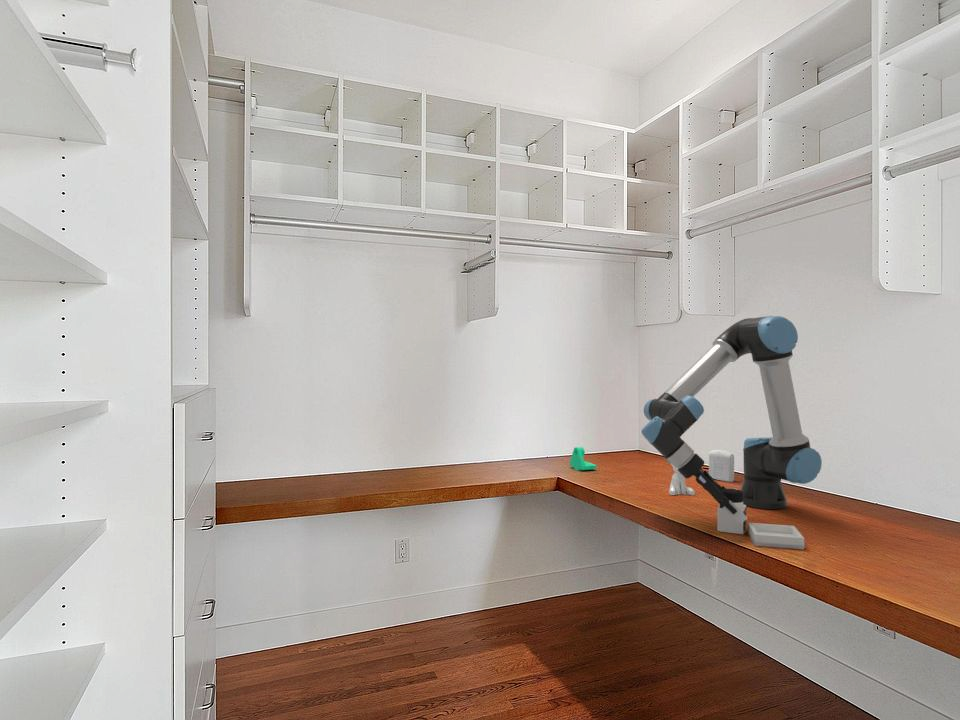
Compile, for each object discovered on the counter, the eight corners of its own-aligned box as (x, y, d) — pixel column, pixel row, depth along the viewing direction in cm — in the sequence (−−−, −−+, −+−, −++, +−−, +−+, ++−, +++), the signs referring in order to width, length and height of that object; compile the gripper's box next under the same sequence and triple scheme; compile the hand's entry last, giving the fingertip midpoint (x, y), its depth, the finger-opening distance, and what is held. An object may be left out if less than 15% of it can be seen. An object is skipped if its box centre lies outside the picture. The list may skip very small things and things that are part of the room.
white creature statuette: (670, 496, 217) (670, 463, 217) (662, 490, 226) (662, 459, 226) (695, 495, 217) (695, 463, 217) (686, 490, 226) (686, 459, 226)
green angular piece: (597, 471, 266) (597, 448, 266) (582, 472, 264) (582, 449, 264) (584, 466, 277) (584, 444, 277) (569, 467, 275) (569, 445, 275)
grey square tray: (747, 533, 171) (747, 522, 171) (793, 536, 167) (793, 525, 167) (754, 545, 159) (754, 534, 159) (804, 549, 156) (804, 538, 156)
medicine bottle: (743, 535, 169) (743, 493, 169) (717, 531, 172) (717, 490, 172) (746, 528, 175) (746, 488, 175) (720, 525, 179) (720, 485, 179)
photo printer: (735, 481, 243) (735, 451, 243) (730, 482, 240) (730, 452, 240) (712, 477, 251) (712, 448, 251) (707, 478, 248) (707, 449, 248)
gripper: (675, 462, 190) (725, 512, 186) (678, 477, 166) (736, 535, 162) (692, 446, 188) (744, 497, 184) (698, 459, 165) (757, 517, 160)
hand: (740, 515), depth 173 cm, fingers open, 12 cm apart
